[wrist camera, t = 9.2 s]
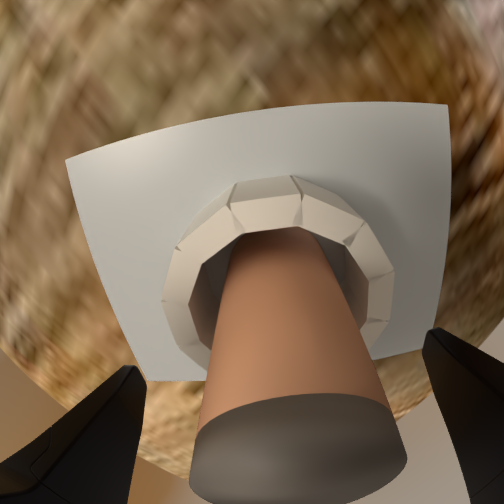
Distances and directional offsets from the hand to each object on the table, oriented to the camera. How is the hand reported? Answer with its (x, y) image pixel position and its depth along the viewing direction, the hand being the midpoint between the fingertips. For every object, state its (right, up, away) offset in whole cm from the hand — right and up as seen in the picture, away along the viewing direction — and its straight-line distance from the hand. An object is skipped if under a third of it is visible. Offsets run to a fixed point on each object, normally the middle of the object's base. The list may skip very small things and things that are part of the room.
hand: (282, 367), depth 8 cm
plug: (0, +3, +5) cm, 6 cm away
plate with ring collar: (0, +3, +6) cm, 7 cm away
